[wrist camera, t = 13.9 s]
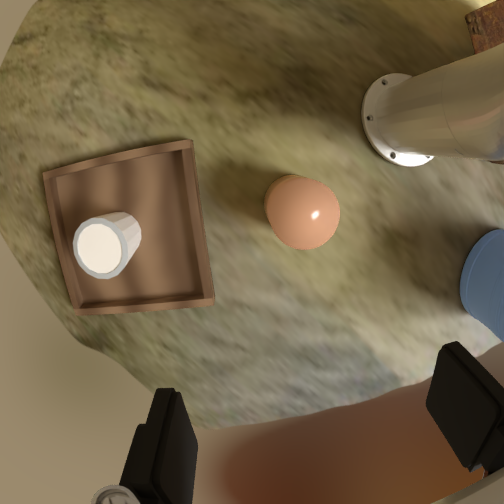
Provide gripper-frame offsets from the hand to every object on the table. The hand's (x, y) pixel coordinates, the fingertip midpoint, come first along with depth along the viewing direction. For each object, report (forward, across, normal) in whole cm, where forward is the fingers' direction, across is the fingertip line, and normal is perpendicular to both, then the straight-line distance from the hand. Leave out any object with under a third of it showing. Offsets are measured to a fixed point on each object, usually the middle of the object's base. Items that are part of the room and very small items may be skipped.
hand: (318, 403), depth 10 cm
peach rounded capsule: (+30, -4, -2) cm, 31 cm away
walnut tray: (+30, +17, -1) cm, 35 cm away
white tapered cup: (+30, +18, -1) cm, 35 cm away
